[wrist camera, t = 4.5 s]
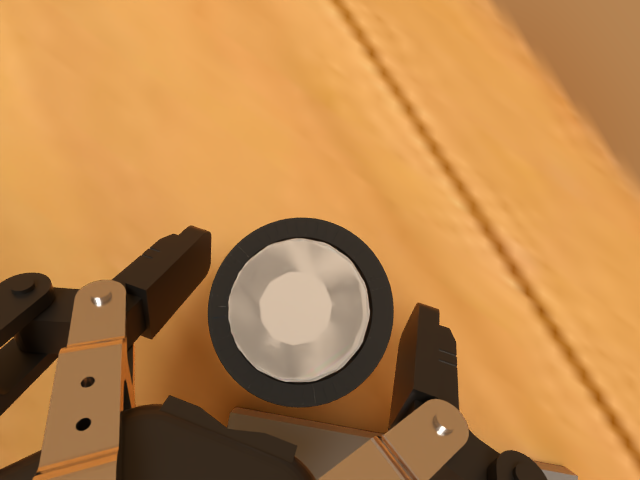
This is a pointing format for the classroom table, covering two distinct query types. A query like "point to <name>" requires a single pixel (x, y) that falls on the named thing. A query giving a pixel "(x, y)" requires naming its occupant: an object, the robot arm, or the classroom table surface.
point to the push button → (300, 312)
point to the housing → (329, 440)
